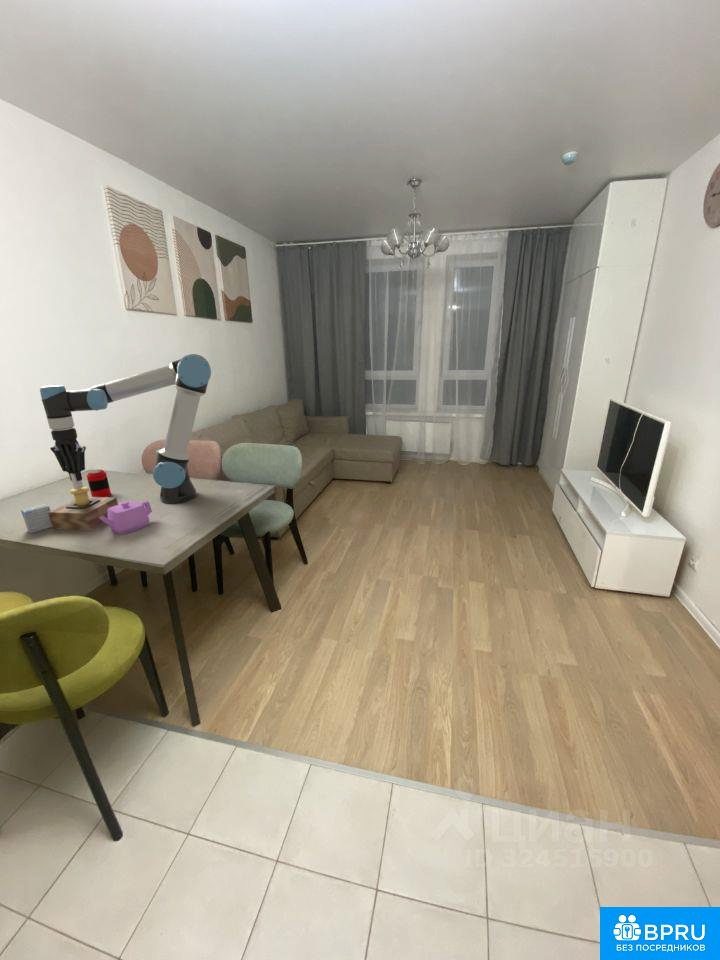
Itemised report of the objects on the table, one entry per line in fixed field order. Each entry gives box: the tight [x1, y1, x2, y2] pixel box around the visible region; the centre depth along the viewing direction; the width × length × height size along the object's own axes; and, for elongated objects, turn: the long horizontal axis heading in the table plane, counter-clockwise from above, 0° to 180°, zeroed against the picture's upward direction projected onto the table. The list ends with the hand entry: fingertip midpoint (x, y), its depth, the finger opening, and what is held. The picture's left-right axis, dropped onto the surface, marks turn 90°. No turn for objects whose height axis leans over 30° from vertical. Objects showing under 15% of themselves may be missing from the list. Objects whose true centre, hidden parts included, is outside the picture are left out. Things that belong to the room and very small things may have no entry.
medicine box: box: [21, 503, 53, 534], centre depth 152 cm, size 8×4×9 cm, turn 141°
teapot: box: [99, 500, 153, 536], centre depth 151 cm, size 18×10×10 cm, turn 143°
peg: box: [69, 486, 90, 506], centre depth 156 cm, size 6×6×8 cm
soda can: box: [86, 469, 112, 497], centre depth 184 cm, size 8×8×12 cm
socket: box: [48, 496, 119, 531], centre depth 158 cm, size 16×16×8 cm
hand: (78, 488), depth 155 cm, fingers closed
